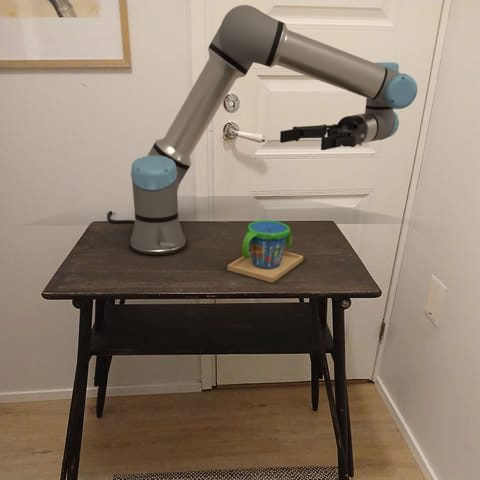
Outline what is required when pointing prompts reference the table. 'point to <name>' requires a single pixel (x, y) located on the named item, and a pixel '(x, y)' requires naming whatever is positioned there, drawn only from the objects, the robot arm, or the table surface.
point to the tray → (265, 274)
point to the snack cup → (266, 243)
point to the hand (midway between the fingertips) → (300, 140)
